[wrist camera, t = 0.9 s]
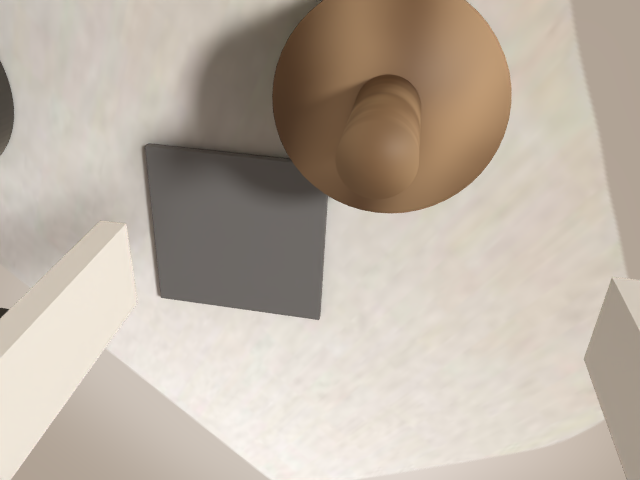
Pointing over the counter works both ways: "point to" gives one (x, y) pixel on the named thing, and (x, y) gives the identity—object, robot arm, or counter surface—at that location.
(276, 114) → the lid
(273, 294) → the mat
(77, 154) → the counter surface
